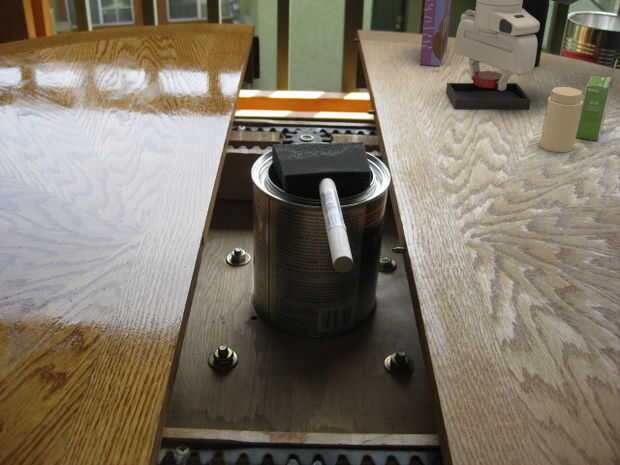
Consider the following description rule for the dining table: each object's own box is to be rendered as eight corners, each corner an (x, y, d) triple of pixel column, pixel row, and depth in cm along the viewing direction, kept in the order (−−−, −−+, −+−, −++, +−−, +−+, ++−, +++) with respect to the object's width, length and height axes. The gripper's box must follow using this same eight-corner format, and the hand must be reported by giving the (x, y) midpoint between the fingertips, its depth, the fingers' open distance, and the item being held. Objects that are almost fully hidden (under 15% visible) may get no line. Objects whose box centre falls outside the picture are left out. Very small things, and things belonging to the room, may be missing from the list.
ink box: (580, 125, 126) (595, 55, 119) (602, 129, 124) (618, 58, 118) (574, 137, 121) (590, 65, 114) (597, 141, 119) (614, 68, 112)
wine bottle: (540, 61, 166) (563, -69, 151) (537, 68, 161) (560, -67, 146) (514, 59, 168) (534, -70, 153) (510, 65, 163) (530, -68, 148)
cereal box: (439, 66, 162) (449, -38, 150) (419, 65, 163) (428, -39, 151) (446, 49, 177) (456, -48, 165) (428, 48, 178) (437, -48, 166)
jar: (567, 140, 120) (578, 85, 115) (578, 152, 115) (590, 96, 110) (535, 140, 120) (544, 85, 115) (545, 152, 115) (555, 96, 110)
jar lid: (476, 88, 135) (477, 79, 134) (470, 79, 140) (471, 71, 140) (506, 88, 135) (507, 79, 134) (499, 79, 140) (500, 70, 139)
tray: (515, 92, 144) (517, 83, 143) (529, 109, 134) (531, 99, 133) (445, 92, 144) (446, 82, 143) (454, 109, 135) (455, 99, 134)
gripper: (451, 9, 138) (444, 74, 144) (522, 28, 122) (511, 100, 129) (474, 6, 140) (466, 70, 147) (546, 24, 125) (534, 95, 132)
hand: (488, 84), depth 138 cm, fingers closed on jar lid, 6 cm apart
